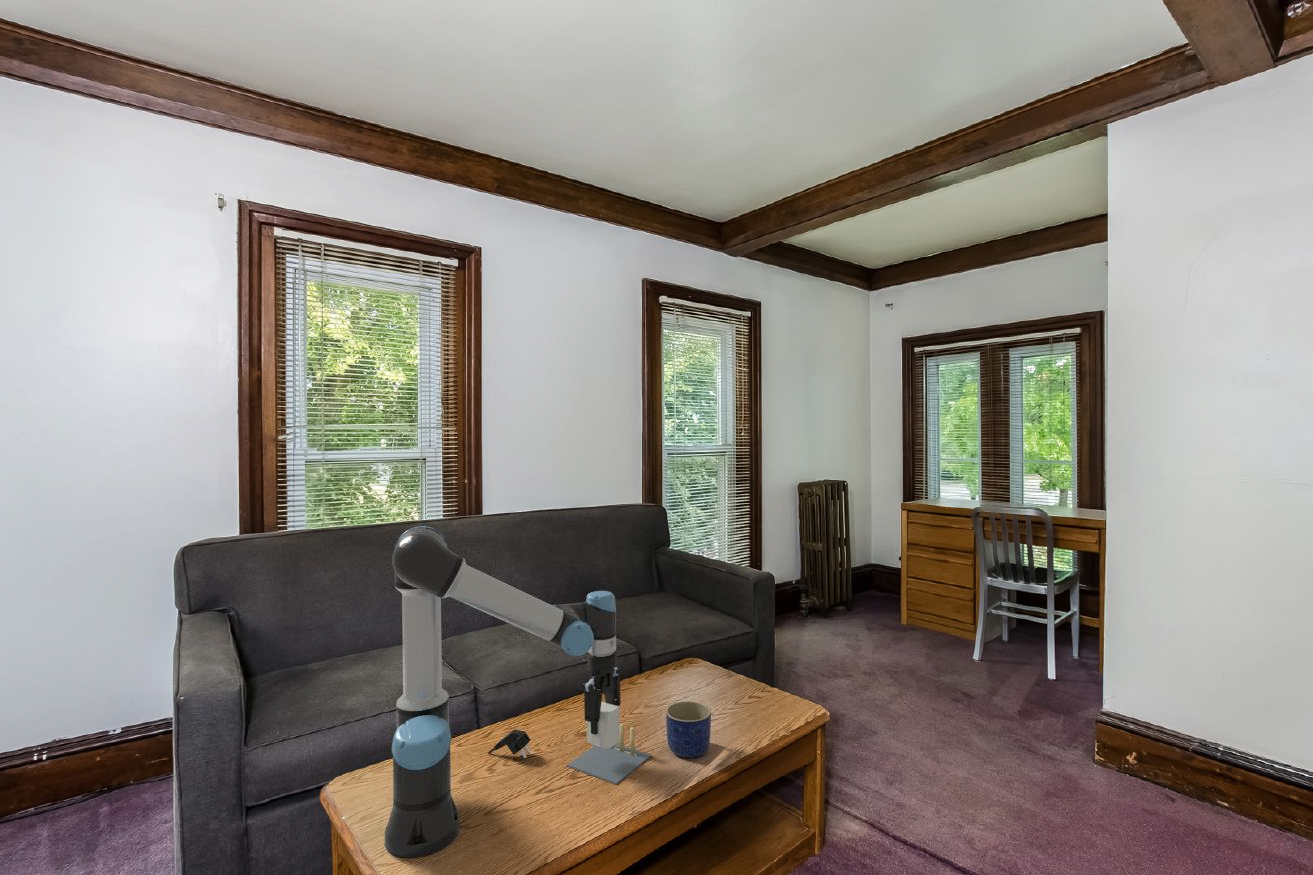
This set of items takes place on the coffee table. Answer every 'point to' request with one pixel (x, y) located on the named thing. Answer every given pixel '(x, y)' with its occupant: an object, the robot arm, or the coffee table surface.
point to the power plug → (514, 742)
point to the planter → (688, 728)
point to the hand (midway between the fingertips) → (603, 740)
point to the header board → (611, 760)
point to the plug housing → (607, 725)
